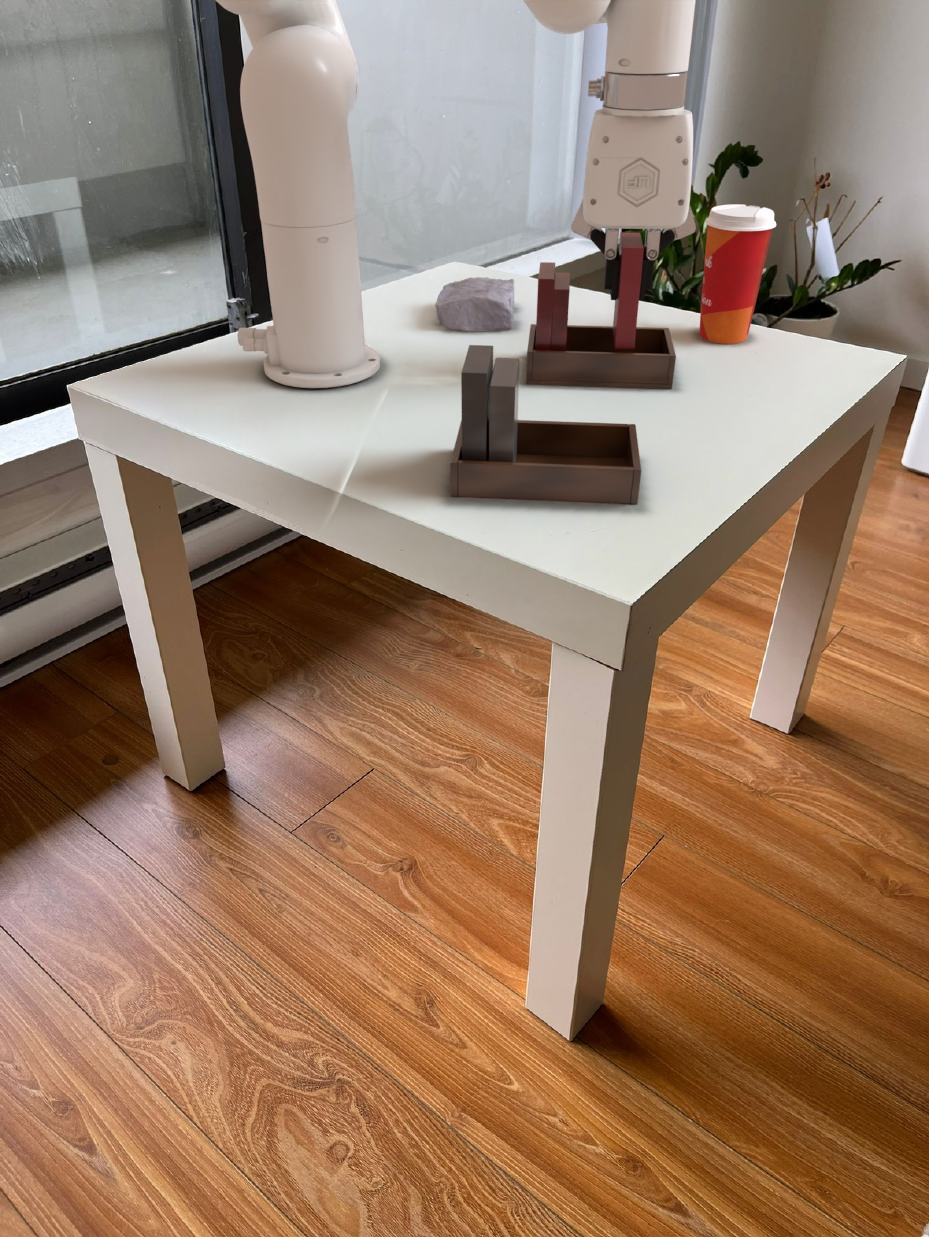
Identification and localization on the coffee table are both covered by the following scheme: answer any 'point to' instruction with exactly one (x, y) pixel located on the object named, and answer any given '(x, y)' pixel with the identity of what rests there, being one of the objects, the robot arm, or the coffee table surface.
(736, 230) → the paper cup
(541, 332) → the brown open box
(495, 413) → the brown crate
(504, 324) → the stone block
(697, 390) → the coffee table surface
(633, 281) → the burgundy book
